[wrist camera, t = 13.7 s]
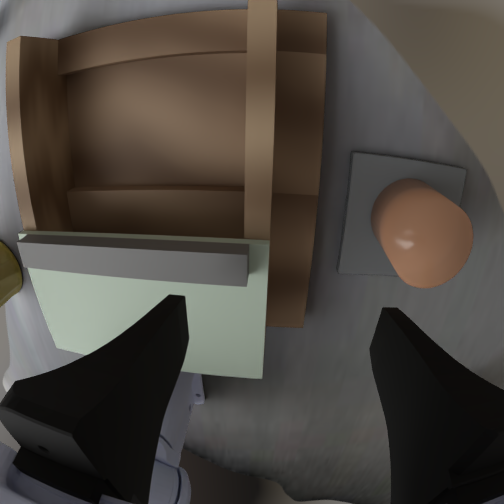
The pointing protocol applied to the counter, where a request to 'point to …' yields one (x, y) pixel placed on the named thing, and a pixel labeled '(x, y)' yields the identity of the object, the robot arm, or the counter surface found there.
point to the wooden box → (178, 133)
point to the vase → (8, 274)
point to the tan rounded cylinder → (421, 232)
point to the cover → (153, 291)
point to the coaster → (365, 193)
